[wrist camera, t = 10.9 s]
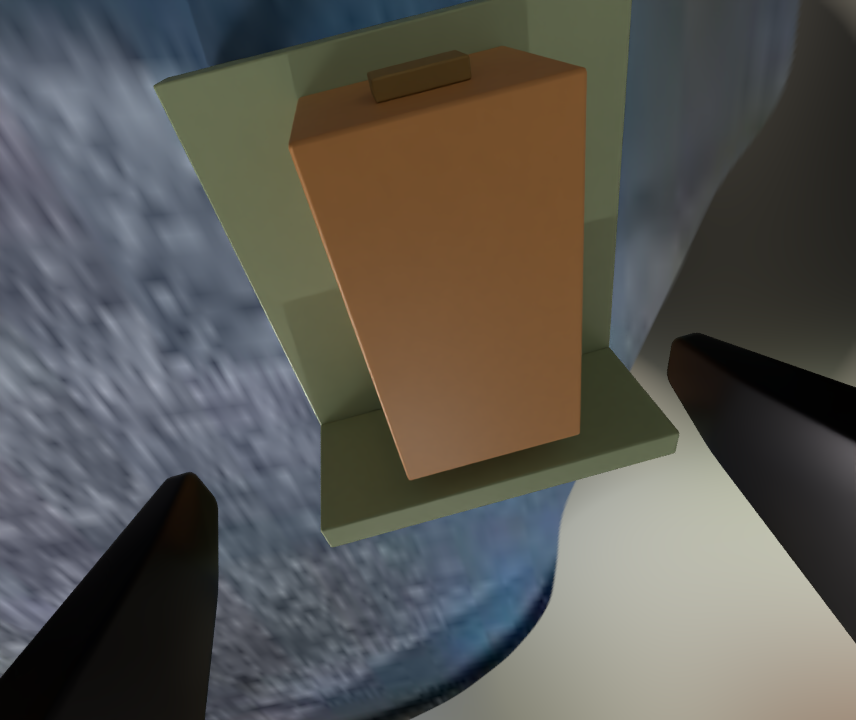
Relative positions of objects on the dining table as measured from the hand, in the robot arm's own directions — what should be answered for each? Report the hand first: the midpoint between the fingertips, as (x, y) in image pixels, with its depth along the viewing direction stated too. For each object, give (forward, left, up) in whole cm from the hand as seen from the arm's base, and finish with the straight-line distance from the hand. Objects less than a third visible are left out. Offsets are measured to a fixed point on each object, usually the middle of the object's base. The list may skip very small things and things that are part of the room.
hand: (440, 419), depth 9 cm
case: (+1, +1, -7) cm, 7 cm away
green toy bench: (+1, +1, -12) cm, 12 cm away
